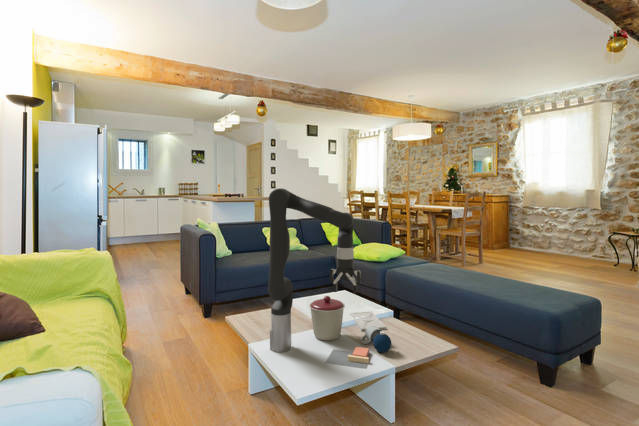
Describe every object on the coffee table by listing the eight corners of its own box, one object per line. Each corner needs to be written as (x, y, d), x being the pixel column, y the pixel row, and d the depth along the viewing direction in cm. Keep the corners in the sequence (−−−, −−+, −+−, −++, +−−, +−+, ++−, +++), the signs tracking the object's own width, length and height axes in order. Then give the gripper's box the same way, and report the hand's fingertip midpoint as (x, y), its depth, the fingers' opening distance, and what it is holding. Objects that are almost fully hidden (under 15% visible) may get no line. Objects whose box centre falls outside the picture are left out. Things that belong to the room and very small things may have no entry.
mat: (324, 363, 158) (324, 358, 158) (333, 350, 171) (333, 345, 171) (366, 369, 152) (366, 364, 152) (371, 355, 166) (371, 349, 166)
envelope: (361, 332, 194) (386, 330, 196) (361, 328, 194) (386, 326, 196) (349, 316, 217) (371, 314, 220) (349, 312, 217) (371, 311, 220)
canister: (326, 327, 199) (326, 289, 198) (352, 336, 186) (352, 296, 185) (302, 336, 187) (301, 296, 185) (327, 347, 174) (327, 304, 172)
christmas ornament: (394, 354, 167) (395, 332, 166) (378, 357, 164) (378, 335, 163) (385, 346, 175) (385, 326, 174) (369, 349, 172) (369, 328, 171)
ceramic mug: (377, 337, 185) (377, 322, 185) (385, 344, 177) (384, 328, 177) (358, 340, 182) (357, 325, 182) (364, 347, 174) (364, 331, 174)
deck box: (352, 354, 161) (356, 346, 169) (352, 358, 161) (356, 350, 169) (365, 356, 160) (368, 348, 167) (365, 360, 160) (368, 352, 167)
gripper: (362, 256, 167) (362, 291, 168) (332, 254, 171) (332, 289, 172) (359, 259, 160) (359, 296, 161) (327, 257, 164) (327, 293, 165)
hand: (345, 292), depth 166 cm, fingers open, 8 cm apart
